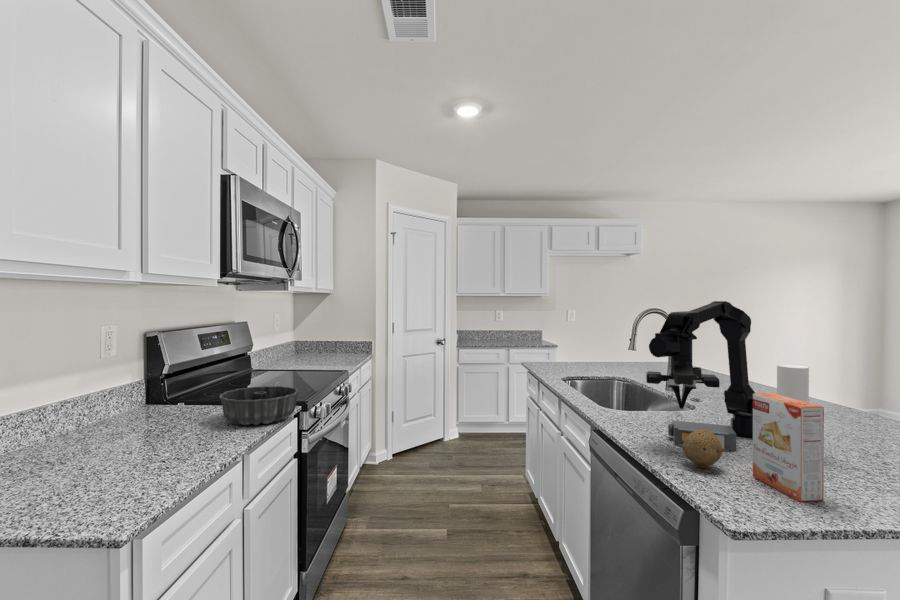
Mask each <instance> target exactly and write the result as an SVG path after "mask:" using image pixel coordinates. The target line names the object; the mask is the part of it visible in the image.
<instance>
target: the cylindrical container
mask: <svg viewBox="0 0 900 600" xmlns="http://www.w3.org/2000/svg"><path fill="white" fill-rule="evenodd" d="M809 383H810V367H808V366H806V365H799V364H797V365H796V364H786V363H785V364H777V365H776V394H779V395H782V396H786V397H790V398H793V399H797V400H800V401H804V402H808V403H810V399H809V397H810V394H809V393H810V384H809Z"/></svg>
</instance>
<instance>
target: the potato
mask: <svg viewBox="0 0 900 600" xmlns="http://www.w3.org/2000/svg"><path fill="white" fill-rule="evenodd" d="M681 451H682V454H683V455H684V457H685V458H686V459H687V460H689V461H690V462H691V463H692V464H693V465H695V466H696V467H699V468H700V469H706V468H709V467H711V466H713V465H714V464H716V463H717V462H718V461H719V460H720V459H721V458H722V456H723V451H722V445H721V443H720V441H719V439H718V438H717V437H716V436H715V435H714V434H713V433H712V432H710V431H707V430H703V429H698V430H695V431H693V432H691V433H690V434H689V435H688V437H687V438H686V440H685V442H684V443H683V446H681Z"/></svg>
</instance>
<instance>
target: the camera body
mask: <svg viewBox="0 0 900 600" xmlns="http://www.w3.org/2000/svg"><path fill="white" fill-rule="evenodd" d="M667 428H668V429H667V430H668V437H672V440H673V444H674V445H675V446H676V445H677V446H678V447H682V446H683V443H684V442H685V440H686V438H687V437H688V435H689V434H690V433H691V432H693V431H695V430H698V429H703V430H707V431H710V432H712V433H713V434H717V435H724V449H722V452H727V451H728V452H730V451H729V450H731V451H732V452H737V436H736V433H735V432H734V430H733V429H732V428H731V425H728V424H727V425H726V424H715V423H703V422H695V421H694V422H692V421H684V420H683V421H681V420H671V423H668V427H667Z"/></svg>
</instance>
